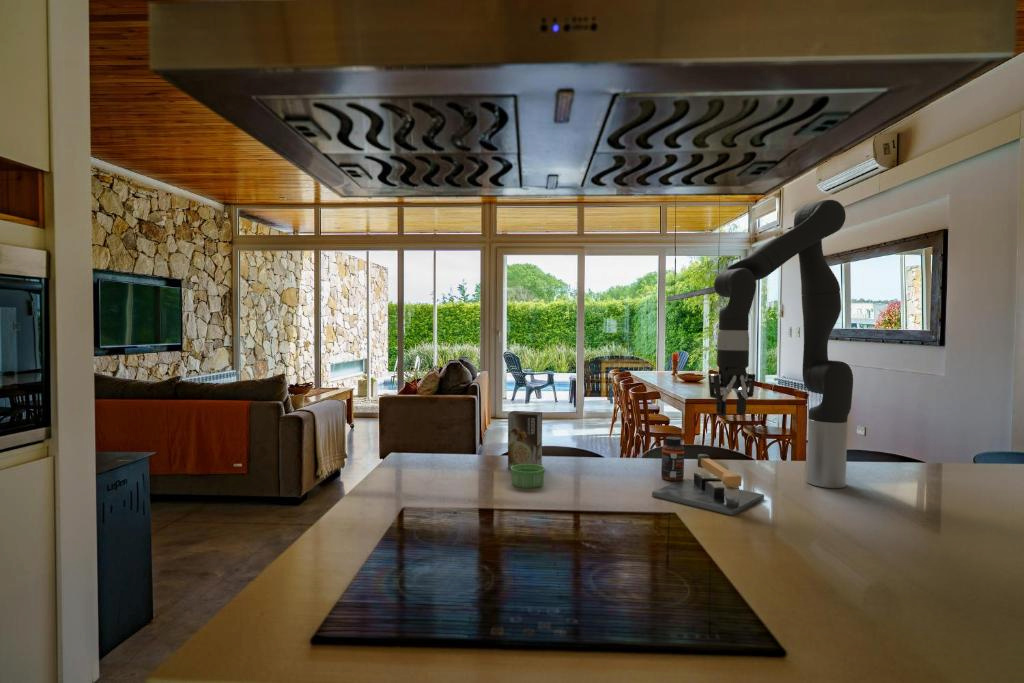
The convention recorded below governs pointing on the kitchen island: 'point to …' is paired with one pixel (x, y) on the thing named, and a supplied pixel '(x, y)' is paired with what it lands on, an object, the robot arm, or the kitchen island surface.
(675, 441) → the supplement bottle
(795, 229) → the robot arm
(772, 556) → the kitchen island surface
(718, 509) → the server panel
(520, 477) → the ramekin
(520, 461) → the coffee box
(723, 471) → the light wooden bar
